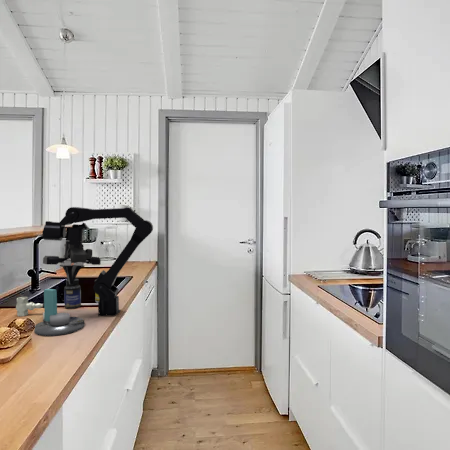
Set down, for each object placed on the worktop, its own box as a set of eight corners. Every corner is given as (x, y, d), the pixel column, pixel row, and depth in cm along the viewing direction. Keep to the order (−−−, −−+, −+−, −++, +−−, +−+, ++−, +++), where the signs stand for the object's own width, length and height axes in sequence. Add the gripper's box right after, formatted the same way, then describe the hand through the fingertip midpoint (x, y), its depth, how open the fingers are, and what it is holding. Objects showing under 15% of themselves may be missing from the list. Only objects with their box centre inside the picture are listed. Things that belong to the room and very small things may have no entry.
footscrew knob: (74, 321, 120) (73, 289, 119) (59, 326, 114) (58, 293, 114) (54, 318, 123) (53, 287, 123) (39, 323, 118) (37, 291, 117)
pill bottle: (65, 309, 140) (64, 281, 140) (64, 306, 146) (63, 279, 145) (82, 307, 143) (81, 280, 142) (80, 304, 148) (79, 277, 148)
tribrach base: (94, 323, 123) (94, 310, 122) (60, 338, 109) (59, 323, 108) (60, 319, 128) (59, 306, 128) (23, 333, 114) (22, 319, 114)
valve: (12, 318, 130) (48, 316, 132) (12, 300, 130) (47, 298, 132) (20, 313, 137) (53, 311, 139) (19, 295, 136) (53, 294, 138)
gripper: (53, 240, 119) (49, 287, 118) (107, 242, 131) (104, 286, 130) (44, 239, 127) (40, 284, 126) (96, 242, 139) (93, 282, 138)
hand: (71, 284), depth 130 cm, fingers closed
